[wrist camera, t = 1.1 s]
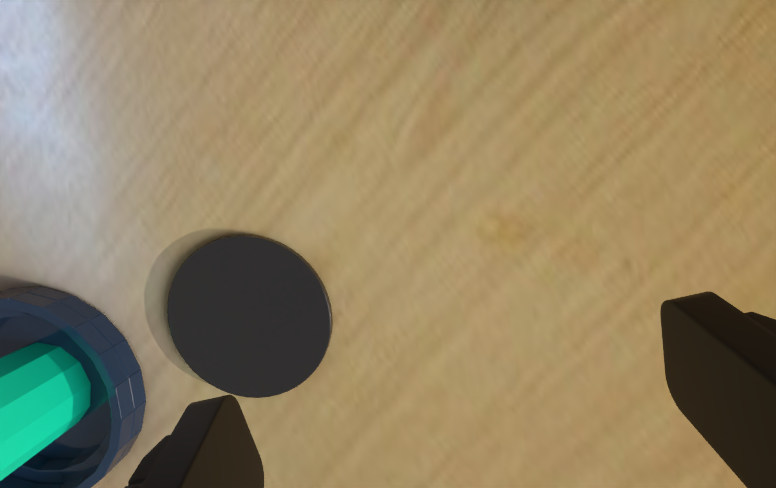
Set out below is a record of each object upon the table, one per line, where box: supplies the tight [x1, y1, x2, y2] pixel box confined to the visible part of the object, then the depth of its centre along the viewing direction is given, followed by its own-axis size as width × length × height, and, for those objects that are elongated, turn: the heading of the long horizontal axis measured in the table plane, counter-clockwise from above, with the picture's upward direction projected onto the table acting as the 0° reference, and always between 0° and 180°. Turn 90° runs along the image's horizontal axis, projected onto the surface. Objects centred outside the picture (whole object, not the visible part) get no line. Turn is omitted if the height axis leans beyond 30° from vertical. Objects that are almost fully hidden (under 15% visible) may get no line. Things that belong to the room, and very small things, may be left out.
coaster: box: [167, 235, 332, 398], centre depth 30 cm, size 10×10×1 cm
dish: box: [0, 287, 146, 488], centre depth 32 cm, size 13×13×3 cm
